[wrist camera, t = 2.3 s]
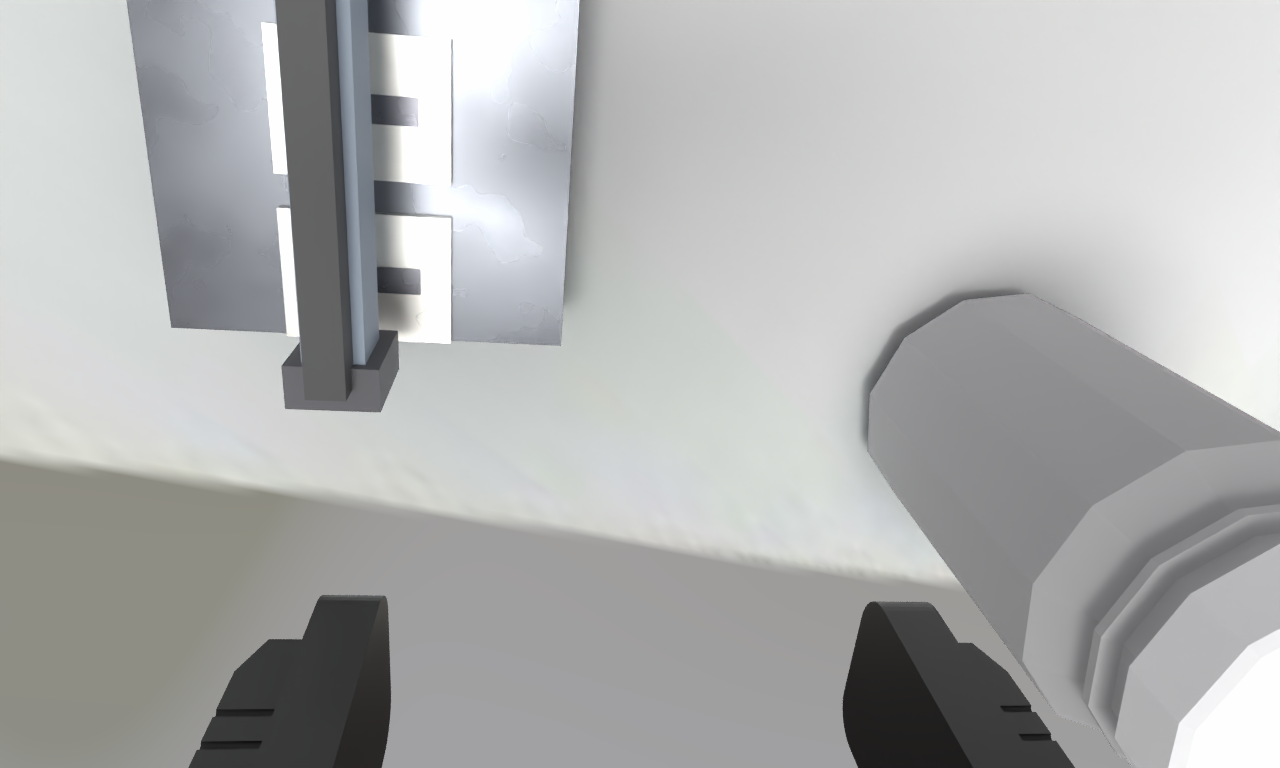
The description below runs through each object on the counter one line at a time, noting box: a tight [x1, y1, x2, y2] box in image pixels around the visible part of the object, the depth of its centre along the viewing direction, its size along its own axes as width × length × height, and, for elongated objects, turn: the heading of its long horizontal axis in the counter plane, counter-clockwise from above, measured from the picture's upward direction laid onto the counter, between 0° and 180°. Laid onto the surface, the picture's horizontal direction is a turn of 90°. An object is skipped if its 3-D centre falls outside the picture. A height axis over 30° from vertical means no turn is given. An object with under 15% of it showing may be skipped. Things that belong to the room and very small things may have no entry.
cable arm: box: [274, 0, 399, 412], centre depth 20 cm, size 2×15×4 cm, turn 175°
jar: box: [868, 293, 1280, 768], centre depth 26 cm, size 10×10×18 cm
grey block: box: [127, 0, 580, 346], centre depth 23 cm, size 12×18×10 cm
